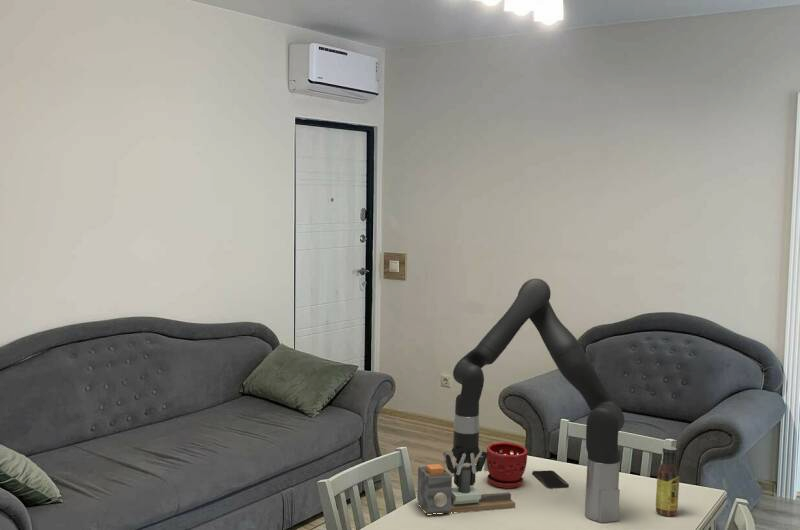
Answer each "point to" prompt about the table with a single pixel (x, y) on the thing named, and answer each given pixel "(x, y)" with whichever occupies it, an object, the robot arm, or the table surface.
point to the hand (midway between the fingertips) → (464, 485)
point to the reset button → (434, 469)
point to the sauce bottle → (667, 483)
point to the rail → (438, 497)
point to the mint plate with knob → (465, 489)
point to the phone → (550, 479)
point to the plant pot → (506, 464)
